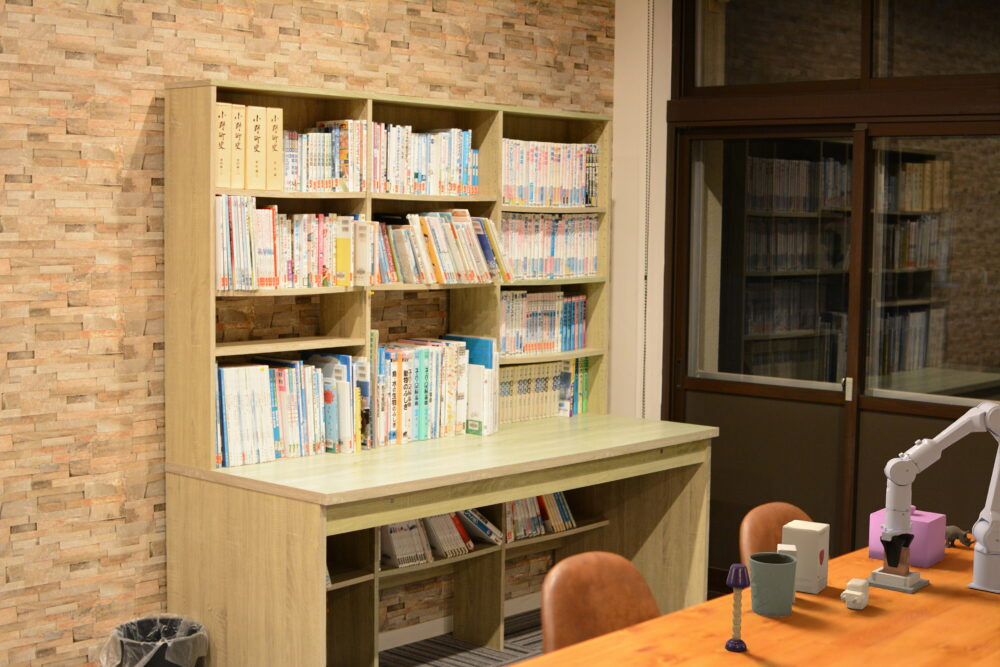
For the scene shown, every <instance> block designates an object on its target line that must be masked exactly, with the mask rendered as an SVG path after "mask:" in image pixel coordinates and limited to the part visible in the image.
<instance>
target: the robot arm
mask: <svg viewBox="0 0 1000 667" xmlns="http://www.w3.org/2000/svg"><path fill="white" fill-rule="evenodd" d="M987 431H988V432H989V433H990V434H991V435H992V436H993V438H994V439H995V440H996V441H997V443H998V447H997V450H996V451H997V452H996V456H995V460H994V465H993V469H992V473H991V474H992V475H991V479H990V483H989V486H988V492H987V496H986V501H985V504H984V505H985V506H984V508H983V509H982V510H981V511H980V513H979V517H978V519H977V521H976V522H975V523H974V524H973V526H972V528H971V529H972V530H971V534H972V536H973V539H974V540H976V542H975V545H974V546H973V550H974V551H973V569H972V570H973V573H972V582H970V583H968V584H967V585H966V588H970V589H975V590H980V591H986V592H991V593H996V594H1000V404H998V403H997V402H994V401H992V400H985V401H983V402H981V403H979V404H978V405H977V406H974V407H972V408H970V409H969V410H968V411H966V413H965V414H963V415H962V416H960V417H959V418H958V419H957V420H955V422H953V423H952V424H950V425H949V426H948V427H946V429H944V430H942V431H941V432H940V433H939V434H937V435H936V436H935V437H934V438H932V439H931V438H923V439H922V440H921V439H917V440H916V441H914V444H915V445H914V446H912V447H910V448H909V449H908V450H906V451H905V452H904V453H903V452H900V453H899V454H898V456H899V457H894V458H892V459H890V460H888V461H887V463H886V465H885V468H884V469H883V472H884V474H885V476H886V478H887V479H886V480H887V481H886V486H887V487H886V494H885V508H886V516H885V524H882V525H880V528H883V529H884V531H883V532H882V536H880V541H881V543H882V545H883V547H884V550H885V553H886V558H887V563H888V566H889V567H895V568H897V567H898V564H899V559H900V553H901V550H902V547H905V548H909V546H910V544H911V542H912V540H913V539H914V535H913V534H908V533H910V532H911V531H912V528H913V523H910V521H911V505H912V493H913V492H912V483H914V482H915V479H916V477H917V474H920V473H921V472H923V471H924V470H925V469H927V468H928V467H930V466H931V465H932V464H934V463H936V462H937V461H939V460H940V459H941V458H942V456H941V455H942V451H943V450H945V449H946V448H948V447H949V446H951V445H953V444H954V443H956V442H958V441H959V440H961V439H963V438H965V436H967V435H969V434H970V433H985V432H987Z"/></svg>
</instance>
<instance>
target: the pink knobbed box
mask: <svg viewBox="0 0 1000 667" xmlns="http://www.w3.org/2000/svg"><path fill="white" fill-rule="evenodd" d="M916 508H917V506H915V505H912V504H911V521H910V523H913V528H912V531H911V532H910V533H908V534H913V535H914V539H913V540H912V542H911V544H910V546H909V548H910V565H909V566H910V567H917V568H923V569H928V568H930V567H932V566H934V565H935V564H938V563H939V562H941V561H943V560H945V557H946V556H945V554H946V553H945V552H946V551H945V550H946V547H945V544H946V540H945V532H946V526H947V525H946V524H947V514H944V513H943V514H942V513H937V512H930V511H923V510H917V509H916ZM885 516H886V507H885V508H882V509H879V510H877V511H875V512H872V513H870V515H869V531H868V533H869V535H868V536H869V537H868V559H872V560H878V561H883V562H884V547H883V545H882V543H881V541H880V536H882V532H883V531H884V529H883V528H880V525H882V524H885Z"/></svg>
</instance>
